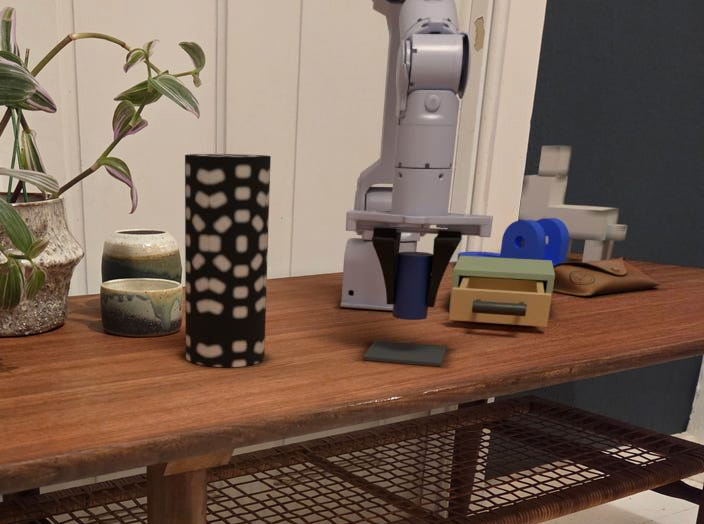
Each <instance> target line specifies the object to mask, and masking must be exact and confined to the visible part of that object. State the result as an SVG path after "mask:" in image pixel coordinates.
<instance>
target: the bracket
mask: <svg viewBox="0 0 704 524" xmlns="http://www.w3.org/2000/svg"><path fill="white" fill-rule="evenodd" d="M546 236H548V243H547V244H546ZM523 240H524V244H523ZM568 243H569V233H568V229H567V227H566V226H565V224H564V223H563V222H562V221H561V220H559V219H556V218H545V219H539V220H537V221H534V220H519V219H518V220H515V221H513V222H511V223H510V224H509V225H508V226H507V227H506V228H505V230H504V232H503V234H502V239H501V245H500V252H491V251H460V252H458V253H457V259H456V262H457V261H458V259H459V257H460V256H475V257H494V258H513V259H532V260H551V261H552V264H553V266H555V265H557V264H559V263H564V262H566V256H567V249H568Z"/></svg>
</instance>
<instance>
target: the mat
mask: <svg viewBox="0 0 704 524" xmlns="http://www.w3.org/2000/svg"><path fill="white" fill-rule="evenodd" d="M447 348H448V346H447V345H438V344H427V343H414V342H402V341H392V340H391V341H389V340H377V339H375V340H373V342H372V344H371V345H370V346H369V348H367V350H366V352H365V353H364V355H363V358H362V360H363V361H369V362H383V363H392V364H393V363H395V364H405V365H418V366H429V367H439V368H440V367H442V363H443V362H444V358H445V355H446V353H447Z"/></svg>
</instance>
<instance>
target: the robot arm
mask: <svg viewBox="0 0 704 524" xmlns="http://www.w3.org/2000/svg"><path fill="white" fill-rule="evenodd" d="M371 2H372V9H373V11H376V12H377V13H379V14H381V15H382V16H385V18H386V24H387V31H388V49H387V60H386V73H385V74H386V75H385V86H384V87H385V89H384V102H383V112H382V113H383V115H382V127H381V140H380V153H379V158H378V159H377V160H376V161H375V162H373V163H372V164H370V165H369V166H368V167H366V168H365V169H364V170H362V171H361V172H360V174H359V176H358V178H357V180H356V189H355V196H354V202H353V203H354V205H353V206H354V207H353V209H349V210H348V211H346V217H345V218H346V219H345V231H346V232H355V233H356V235H357V236H361V237H350V238H348V239H347V241H346V244H345V249H344V255H343V265H342V266H343V267H342V282H341V283H342V284H341V299H340V301H341V302H340V305H339V306H340V307H341V308H350V309H351V308H352V309H361V310H363V309H364V310H376V311H377V310H378V311H392V312H393V304H394V295H395V281H396V269H397V258H398V253H400V252H417V249H418V248H417V247H418V242H420V241H421V238H422V237H425V236H426V235H427V234H428V235H436V236H435V237H434V238H433V247H432V248H433V249H432V254H433V261H432V273H431V281H430V286H429V292H428V297H427V307H428V308H434V307H435V306H436V301H437V296H438V292H439V289H440V285H441V283H442V280H443V277H444V275H445V273H446V270H447V268H448V266H449V264H450V262H451V260H452V258H453V255H454V254H455V252H456V251H457V249H458V247H459V245H460V243H461V241H462V239H463V238H462V237H463V236H468V237H469V236H470V237H471V236H472V237H479V238H491V236H492V228H493V221H494V219H493V218H494V216H493V215H484V214H483V215H482V214H470V213H469V214H468V213H456V212H455V213H454V212H449V205H450V196H451V187H452V178H453V177H452V176H453V167H454V157H455V148H456V147H455V146H456V137H457V127H458V119H459V110H460V100H462V99H463V98H464V96H465V93H466V89H467V87H468V86H467V85H468V83H469V77H470V72H471V62H472V45H471V36H470V33H469V31H465V30H460V26H459V18H458V10H457V5H456V2H455V0H371ZM459 99H460V100H459ZM374 185H392V186H374ZM431 226H435V227H431Z"/></svg>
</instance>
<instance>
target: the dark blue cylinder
mask: <svg viewBox="0 0 704 524" xmlns="http://www.w3.org/2000/svg"><path fill="white" fill-rule="evenodd" d="M432 261H433V253H430V252H425V251H416V252H400V253H398V258H397V269H396V281H395V295H394V304H393V311H392V317H394V318H395V319H399V320H407V321H420V320H421V321H422V320H425V319H427V318H428V311H429V307H427V297H428V292H429V286H430V281H431V274H432Z"/></svg>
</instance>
